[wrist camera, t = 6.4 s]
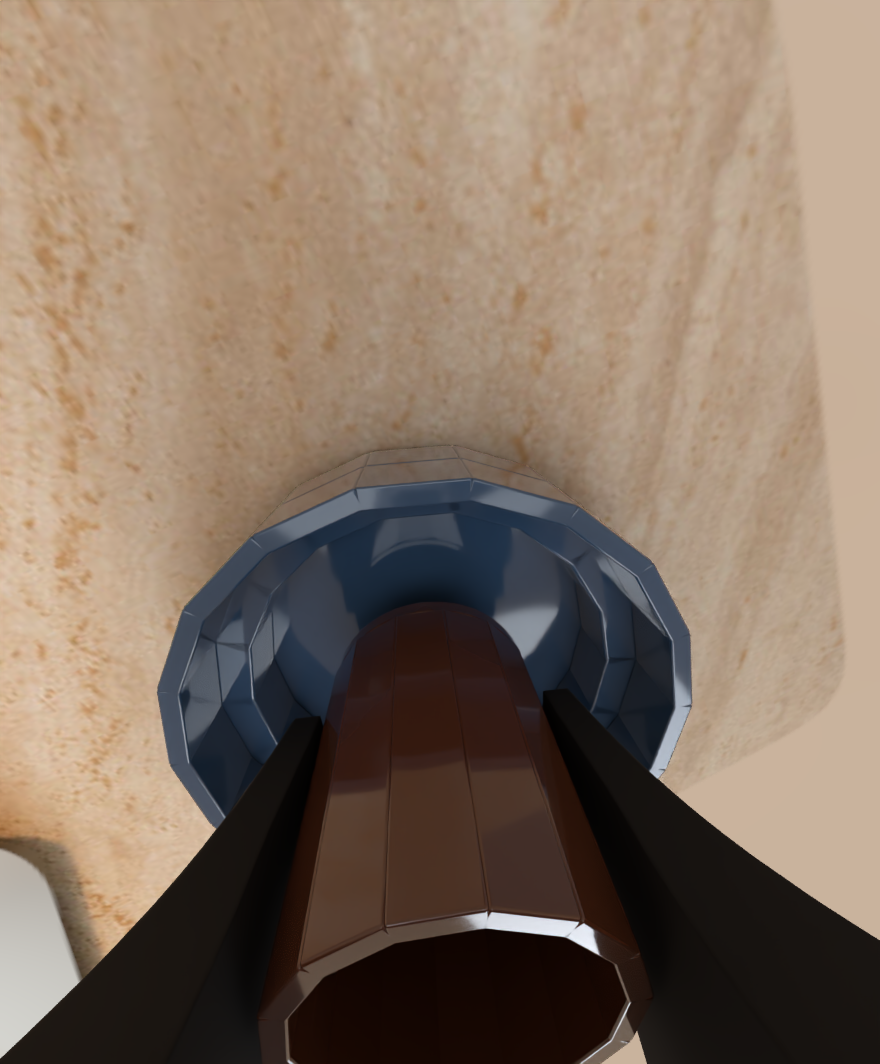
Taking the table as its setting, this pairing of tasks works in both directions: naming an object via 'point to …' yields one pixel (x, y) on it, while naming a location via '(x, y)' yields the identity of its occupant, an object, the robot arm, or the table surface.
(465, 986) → the cup
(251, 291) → the table surface
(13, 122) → the table surface
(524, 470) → the bowl
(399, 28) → the table surface
